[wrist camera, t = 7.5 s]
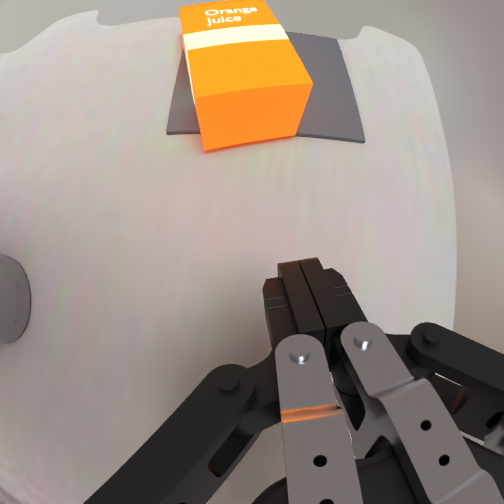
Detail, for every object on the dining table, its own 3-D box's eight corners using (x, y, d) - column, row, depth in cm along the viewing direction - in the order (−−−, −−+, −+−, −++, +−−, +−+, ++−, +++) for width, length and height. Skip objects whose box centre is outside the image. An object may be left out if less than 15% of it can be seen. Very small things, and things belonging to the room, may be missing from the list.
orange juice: (314, 82, 19) (250, -20, 22) (194, 96, 18) (174, -12, 21) (295, 136, 26) (246, 25, 30) (203, 152, 25) (180, 34, 29)
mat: (167, 134, 26) (166, 131, 26) (188, 32, 30) (188, 30, 29) (363, 143, 27) (365, 140, 27) (335, 41, 31) (336, 39, 30)
